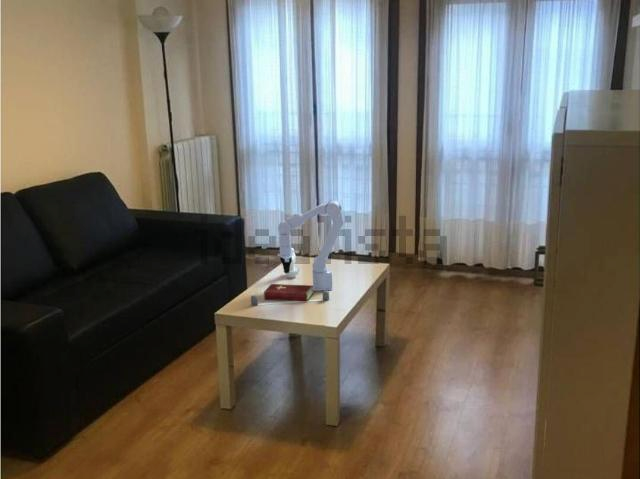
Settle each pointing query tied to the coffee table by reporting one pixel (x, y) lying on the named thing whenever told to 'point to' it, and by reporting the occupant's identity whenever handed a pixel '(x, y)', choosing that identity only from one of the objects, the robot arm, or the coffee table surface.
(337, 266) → the coffee table surface
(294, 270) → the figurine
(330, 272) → the robot arm
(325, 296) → the strip
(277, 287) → the hardcover book
